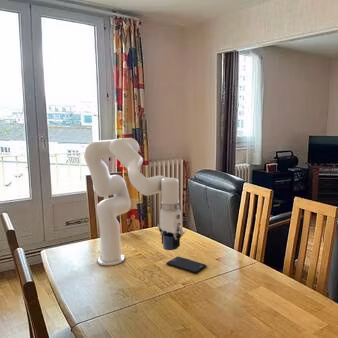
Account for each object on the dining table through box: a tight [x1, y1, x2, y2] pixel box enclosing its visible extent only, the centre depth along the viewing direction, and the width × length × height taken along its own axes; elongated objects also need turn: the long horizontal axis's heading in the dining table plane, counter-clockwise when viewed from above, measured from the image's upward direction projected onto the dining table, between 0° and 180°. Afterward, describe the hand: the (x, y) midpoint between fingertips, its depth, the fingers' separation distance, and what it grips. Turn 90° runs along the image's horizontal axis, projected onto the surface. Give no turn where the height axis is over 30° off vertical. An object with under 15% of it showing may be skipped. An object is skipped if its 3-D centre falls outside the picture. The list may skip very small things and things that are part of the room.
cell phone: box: [166, 256, 207, 274], centre depth 159 cm, size 9×18×1 cm, turn 59°
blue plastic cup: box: [162, 232, 179, 251], centre depth 145 cm, size 7×7×6 cm
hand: (170, 244), depth 145 cm, fingers closed on blue plastic cup, 6 cm apart
